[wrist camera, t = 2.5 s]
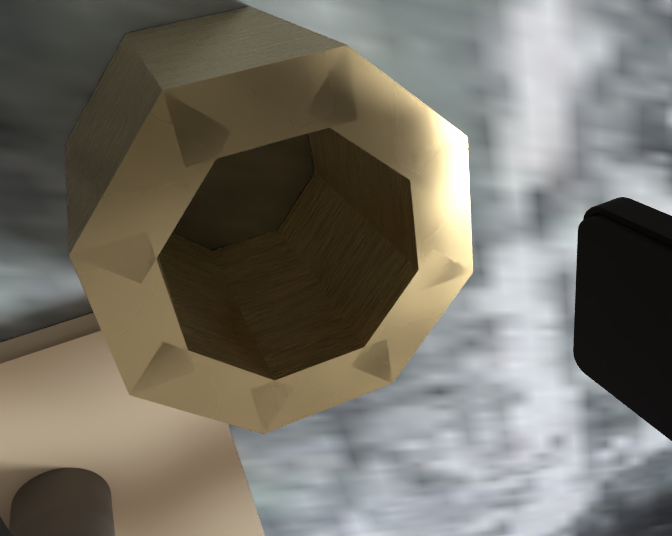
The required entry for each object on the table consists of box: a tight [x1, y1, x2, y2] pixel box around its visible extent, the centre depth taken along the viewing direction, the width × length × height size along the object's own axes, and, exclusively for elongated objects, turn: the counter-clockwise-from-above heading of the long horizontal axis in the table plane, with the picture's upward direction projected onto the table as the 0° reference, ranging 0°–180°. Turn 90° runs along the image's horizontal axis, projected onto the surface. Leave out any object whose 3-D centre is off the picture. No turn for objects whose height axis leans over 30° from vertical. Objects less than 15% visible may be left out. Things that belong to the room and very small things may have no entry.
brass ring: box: [65, 6, 473, 434], centre depth 14 cm, size 7×7×6 cm
